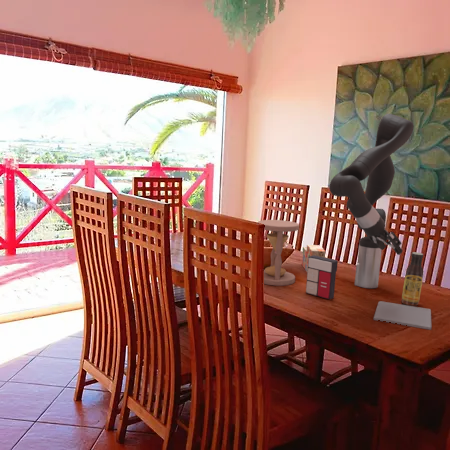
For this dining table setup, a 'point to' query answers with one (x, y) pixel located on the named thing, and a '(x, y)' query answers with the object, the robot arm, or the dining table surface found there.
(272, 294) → the dining table surface
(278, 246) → the hourglass
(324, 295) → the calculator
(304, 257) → the cardboard box
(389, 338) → the dining table surface
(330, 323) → the dining table surface
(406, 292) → the sauce bottle
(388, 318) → the slate mat
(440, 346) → the dining table surface
